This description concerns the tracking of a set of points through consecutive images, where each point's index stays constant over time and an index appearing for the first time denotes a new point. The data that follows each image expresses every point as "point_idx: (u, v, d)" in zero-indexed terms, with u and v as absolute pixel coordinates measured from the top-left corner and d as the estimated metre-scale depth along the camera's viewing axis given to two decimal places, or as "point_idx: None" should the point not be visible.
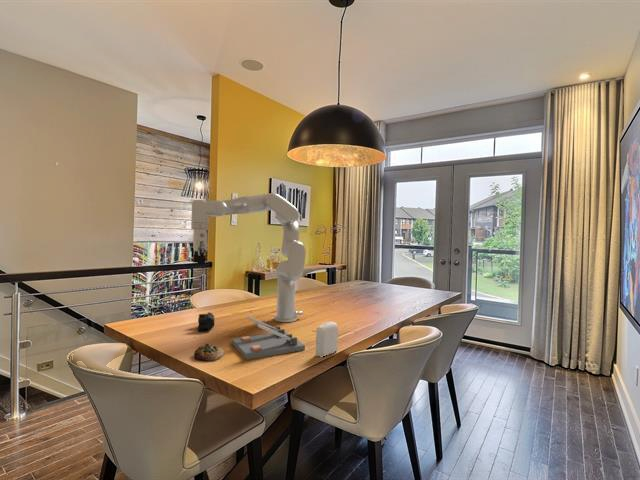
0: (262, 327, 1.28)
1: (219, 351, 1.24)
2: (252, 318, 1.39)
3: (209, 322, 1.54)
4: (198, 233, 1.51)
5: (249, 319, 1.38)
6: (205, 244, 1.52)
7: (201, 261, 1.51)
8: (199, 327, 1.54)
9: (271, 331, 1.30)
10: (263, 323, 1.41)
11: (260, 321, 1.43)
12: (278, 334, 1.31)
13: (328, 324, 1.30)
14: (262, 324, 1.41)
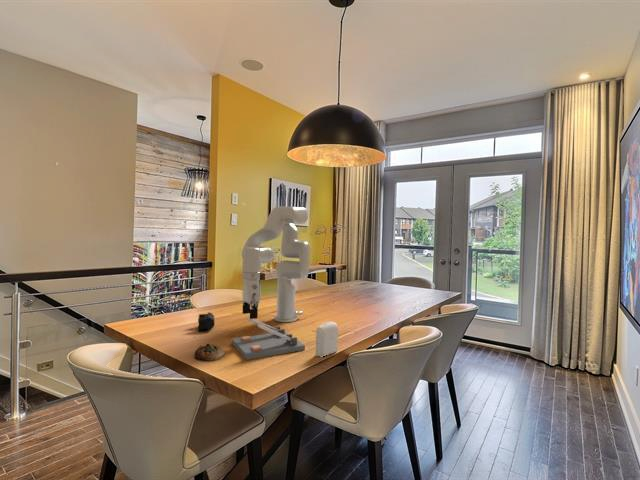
0: (262, 327, 1.28)
1: (219, 351, 1.24)
2: (252, 319, 1.39)
3: (209, 322, 1.54)
4: (251, 284, 1.39)
5: (249, 320, 1.38)
6: (258, 296, 1.40)
7: (254, 315, 1.38)
8: (199, 327, 1.54)
9: (271, 331, 1.30)
10: (263, 324, 1.41)
11: (260, 322, 1.43)
12: (278, 334, 1.31)
13: (328, 324, 1.30)
14: None
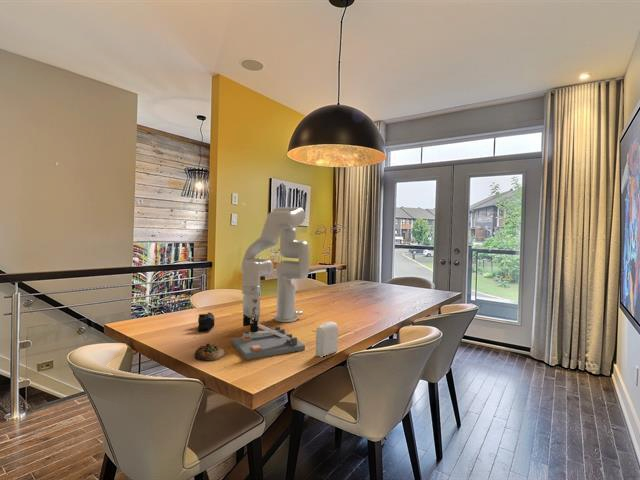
0: (262, 327, 1.28)
1: (220, 351, 1.24)
2: (247, 333, 1.38)
3: (209, 322, 1.54)
4: (251, 299, 1.39)
5: (245, 336, 1.37)
6: (258, 310, 1.40)
7: (254, 329, 1.39)
8: (199, 327, 1.54)
9: (271, 331, 1.30)
10: (260, 333, 1.40)
11: None
12: (278, 334, 1.31)
13: (328, 324, 1.30)
14: (259, 334, 1.40)
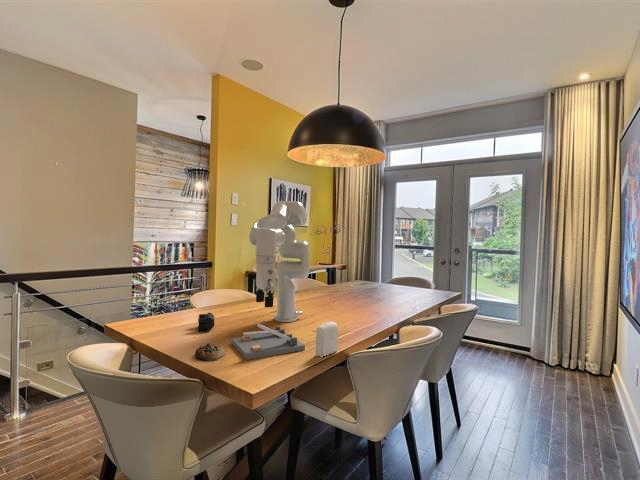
0: (262, 327, 1.28)
1: (220, 351, 1.25)
2: (247, 333, 1.38)
3: (209, 322, 1.54)
4: (266, 269, 1.25)
5: (245, 336, 1.37)
6: (273, 282, 1.26)
7: (269, 303, 1.24)
8: (199, 327, 1.54)
9: (271, 331, 1.30)
10: (260, 333, 1.40)
11: (257, 331, 1.43)
12: (278, 334, 1.31)
13: (328, 324, 1.30)
14: (259, 334, 1.40)
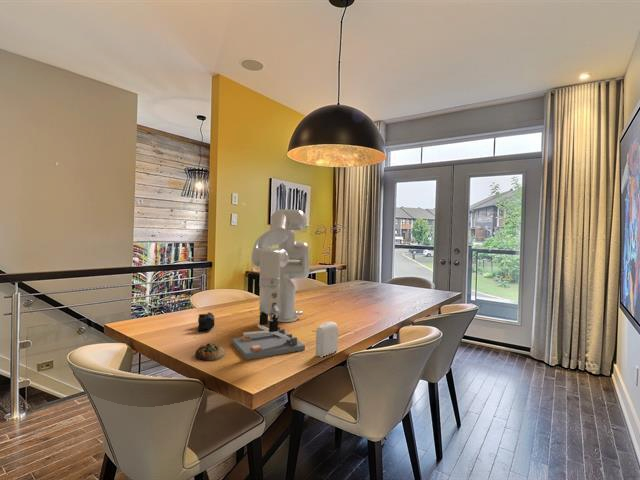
0: (262, 327, 1.28)
1: (220, 351, 1.25)
2: (247, 333, 1.38)
3: (209, 322, 1.54)
4: (270, 293, 1.21)
5: (245, 336, 1.37)
6: (278, 306, 1.22)
7: (274, 328, 1.21)
8: (199, 327, 1.54)
9: None
10: (260, 333, 1.40)
11: (257, 331, 1.43)
12: (278, 334, 1.31)
13: (328, 324, 1.30)
14: (259, 334, 1.40)
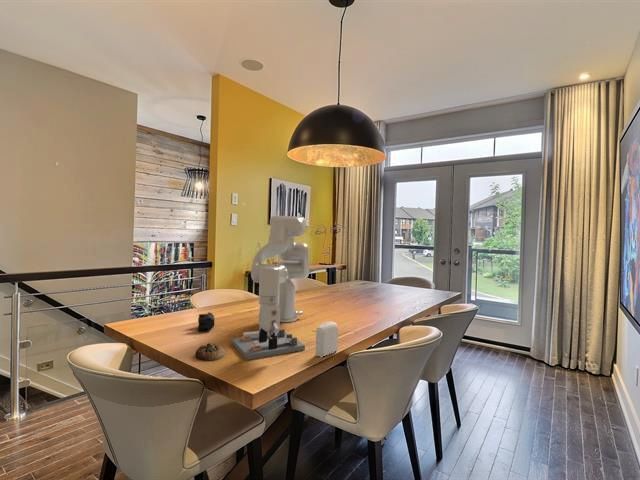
0: (257, 344, 1.27)
1: (220, 351, 1.25)
2: (247, 333, 1.38)
3: (209, 322, 1.54)
4: (269, 310, 1.21)
5: (245, 336, 1.37)
6: (277, 323, 1.22)
7: (273, 346, 1.20)
8: (199, 327, 1.54)
9: None
10: None
11: (257, 331, 1.43)
12: None
13: (328, 324, 1.30)
14: None
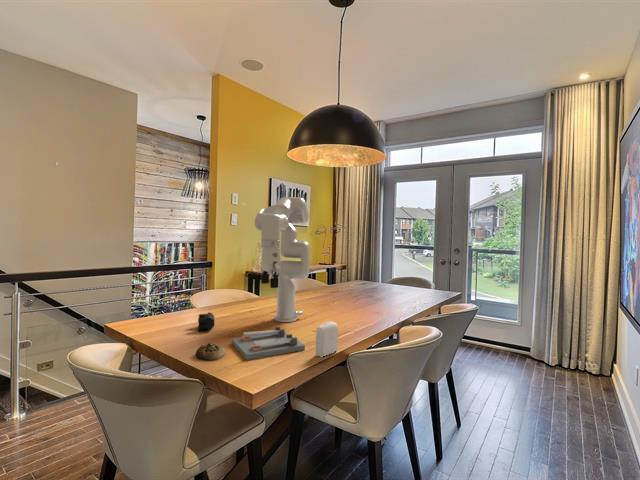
0: (257, 344, 1.27)
1: (220, 350, 1.25)
2: (247, 333, 1.38)
3: (209, 322, 1.54)
4: (271, 252, 1.33)
5: (245, 336, 1.37)
6: (278, 265, 1.34)
7: (275, 284, 1.33)
8: (199, 327, 1.54)
9: (268, 343, 1.29)
10: (260, 333, 1.40)
11: (257, 331, 1.43)
12: (276, 342, 1.31)
13: (328, 324, 1.30)
14: (259, 334, 1.40)
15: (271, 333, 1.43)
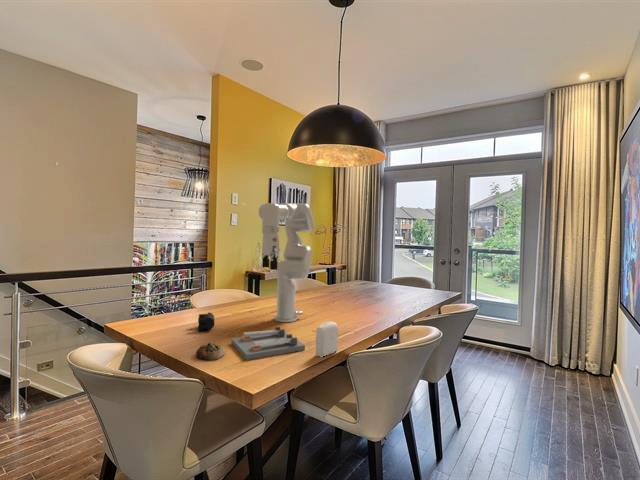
0: (257, 344, 1.27)
1: (221, 350, 1.25)
2: (247, 333, 1.38)
3: (209, 322, 1.54)
4: (271, 237, 1.47)
5: (245, 336, 1.37)
6: (277, 249, 1.49)
7: (274, 266, 1.47)
8: (199, 327, 1.54)
9: (268, 343, 1.29)
10: (260, 333, 1.40)
11: (257, 331, 1.43)
12: (276, 342, 1.31)
13: (328, 324, 1.30)
14: (259, 334, 1.40)
15: (271, 333, 1.43)
